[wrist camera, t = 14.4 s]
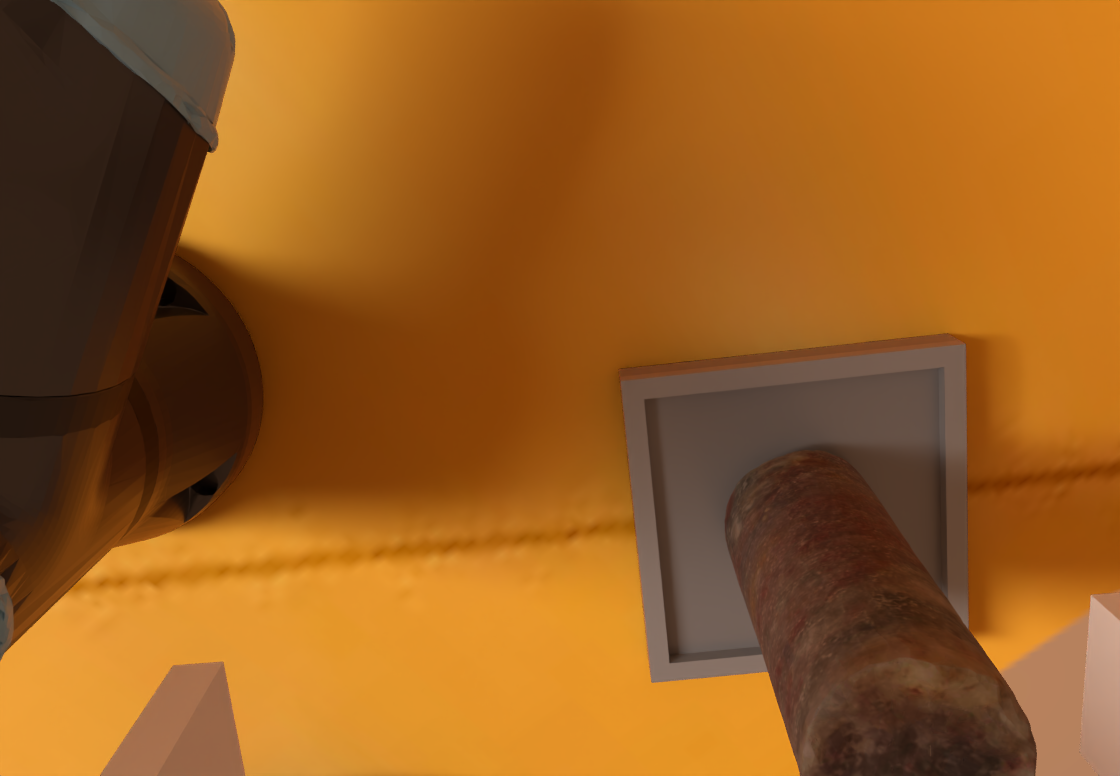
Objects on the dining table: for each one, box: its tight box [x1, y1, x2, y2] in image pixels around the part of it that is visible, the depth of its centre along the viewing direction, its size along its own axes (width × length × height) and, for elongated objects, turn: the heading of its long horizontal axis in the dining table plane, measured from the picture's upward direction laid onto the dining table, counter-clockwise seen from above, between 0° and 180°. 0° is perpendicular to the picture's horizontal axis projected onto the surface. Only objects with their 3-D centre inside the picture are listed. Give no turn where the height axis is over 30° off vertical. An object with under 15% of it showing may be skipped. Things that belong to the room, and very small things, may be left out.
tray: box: [619, 333, 969, 683], centre depth 50 cm, size 16×16×2 cm
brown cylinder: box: [725, 450, 1037, 776], centre depth 40 cm, size 8×7×20 cm
